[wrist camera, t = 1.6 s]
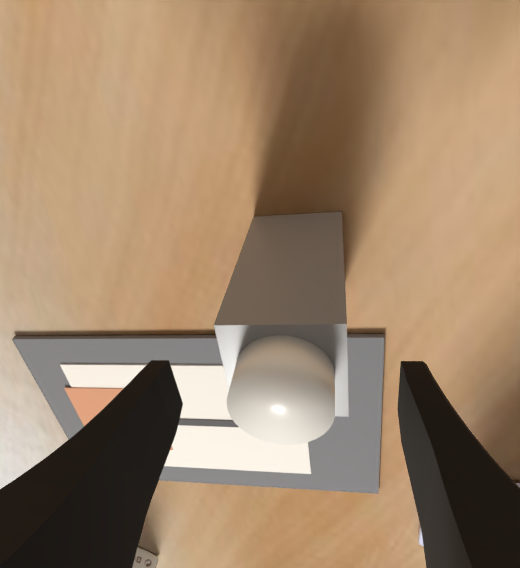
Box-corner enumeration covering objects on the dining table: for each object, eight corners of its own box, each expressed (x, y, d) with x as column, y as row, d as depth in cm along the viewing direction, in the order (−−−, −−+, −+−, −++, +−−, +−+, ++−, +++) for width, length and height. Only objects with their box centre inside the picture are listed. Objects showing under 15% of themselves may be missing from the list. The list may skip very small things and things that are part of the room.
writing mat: (383, 333, 22) (384, 339, 22) (378, 489, 30) (378, 495, 29) (15, 336, 26) (10, 340, 26) (91, 472, 34) (88, 477, 33)
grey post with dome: (342, 211, 19) (348, 360, 11) (343, 286, 21) (350, 455, 13) (253, 216, 20) (201, 359, 12) (264, 288, 22) (225, 449, 14)
